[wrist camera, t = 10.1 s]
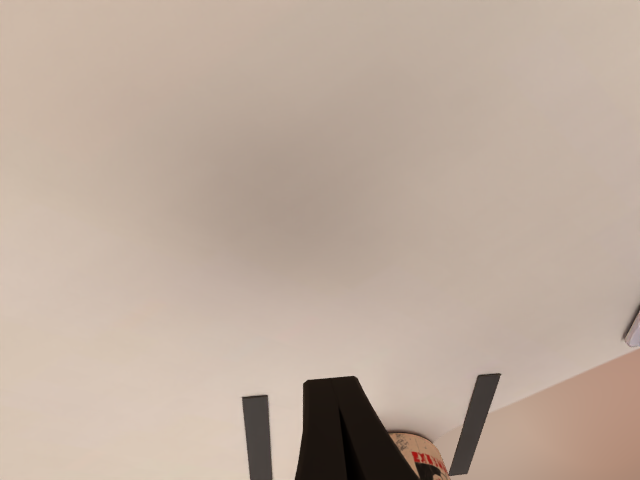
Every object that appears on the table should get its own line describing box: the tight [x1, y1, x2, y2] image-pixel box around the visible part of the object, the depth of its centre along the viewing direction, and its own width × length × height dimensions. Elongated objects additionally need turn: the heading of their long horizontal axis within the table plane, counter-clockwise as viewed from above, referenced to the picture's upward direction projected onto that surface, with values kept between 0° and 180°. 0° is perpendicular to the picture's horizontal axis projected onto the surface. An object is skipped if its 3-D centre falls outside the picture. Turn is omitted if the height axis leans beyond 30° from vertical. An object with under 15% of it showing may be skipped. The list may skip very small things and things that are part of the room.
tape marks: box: [242, 374, 501, 480], centre depth 30 cm, size 16×11×1 cm, turn 88°
